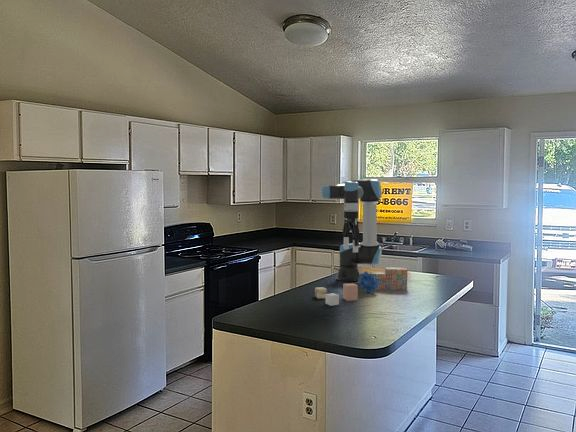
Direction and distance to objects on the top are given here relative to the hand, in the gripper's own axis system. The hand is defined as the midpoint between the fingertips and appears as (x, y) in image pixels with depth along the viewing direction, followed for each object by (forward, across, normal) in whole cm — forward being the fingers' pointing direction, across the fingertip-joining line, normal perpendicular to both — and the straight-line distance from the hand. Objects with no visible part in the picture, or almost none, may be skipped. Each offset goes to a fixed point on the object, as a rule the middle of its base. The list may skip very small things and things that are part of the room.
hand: (350, 250), depth 269 cm
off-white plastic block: (+26, +8, -13) cm, 30 cm away
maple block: (+26, -8, -14) cm, 31 cm away
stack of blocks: (+26, -20, +32) cm, 46 cm away
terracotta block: (+26, 0, 0) cm, 26 cm away
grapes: (+26, -12, +15) cm, 33 cm away
